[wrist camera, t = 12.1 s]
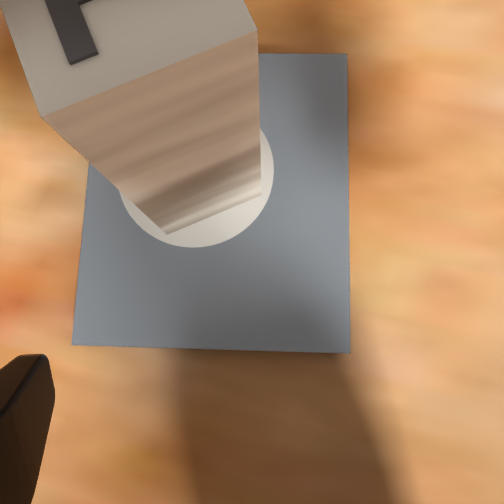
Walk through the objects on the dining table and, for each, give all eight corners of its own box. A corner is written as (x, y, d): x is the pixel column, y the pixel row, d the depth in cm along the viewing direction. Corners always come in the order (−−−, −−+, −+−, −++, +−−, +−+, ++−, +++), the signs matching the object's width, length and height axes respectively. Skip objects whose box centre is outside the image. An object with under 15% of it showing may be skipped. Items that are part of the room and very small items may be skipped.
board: (345, 352, 19) (350, 353, 18) (81, 344, 20) (70, 345, 18) (343, 66, 22) (347, 52, 20) (107, 64, 22) (99, 50, 21)
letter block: (261, 195, 19) (258, 26, 8) (163, 236, 19) (30, 117, 8) (222, 108, 20) (173, -150, 9) (128, 147, 20) (-37, -70, 9)
